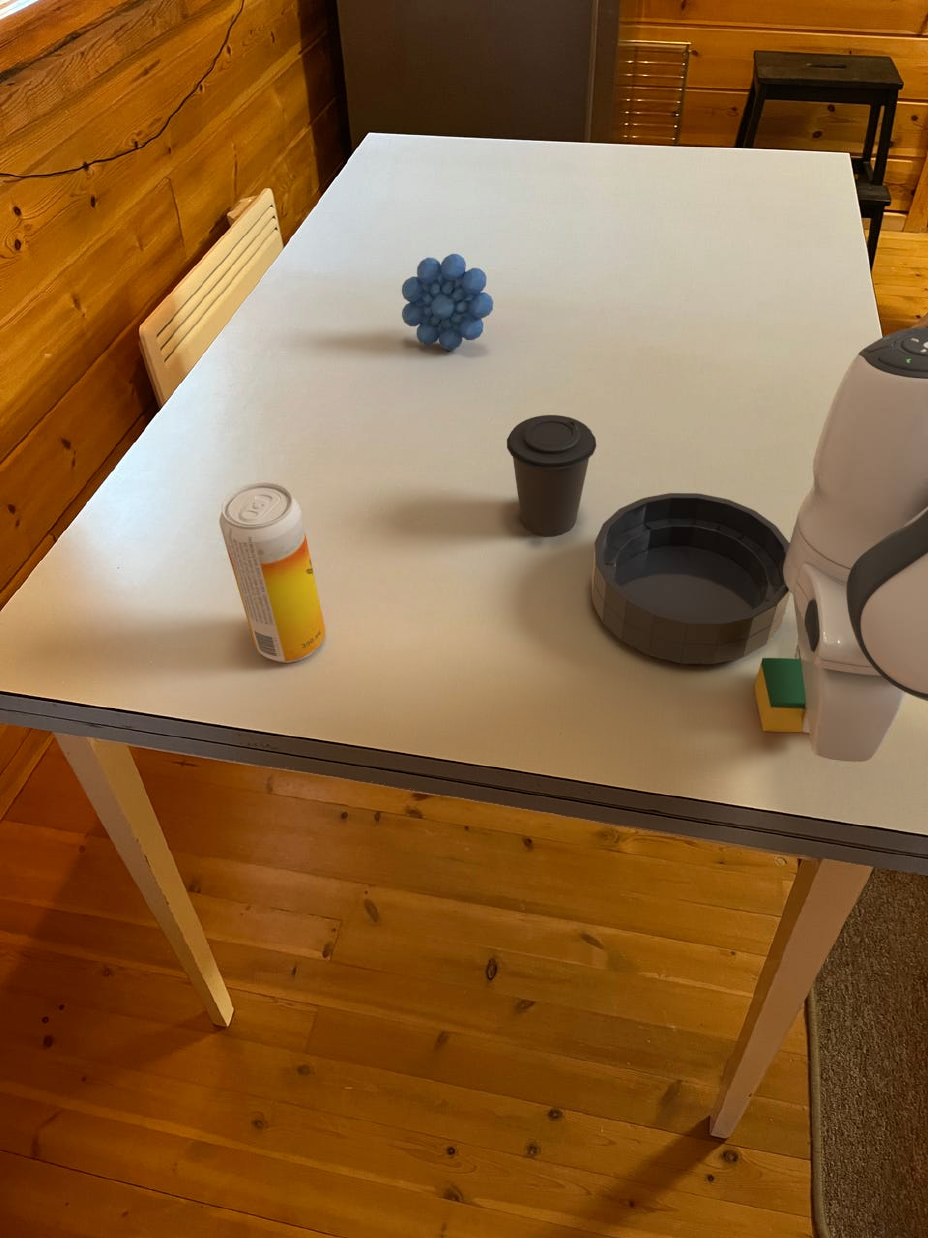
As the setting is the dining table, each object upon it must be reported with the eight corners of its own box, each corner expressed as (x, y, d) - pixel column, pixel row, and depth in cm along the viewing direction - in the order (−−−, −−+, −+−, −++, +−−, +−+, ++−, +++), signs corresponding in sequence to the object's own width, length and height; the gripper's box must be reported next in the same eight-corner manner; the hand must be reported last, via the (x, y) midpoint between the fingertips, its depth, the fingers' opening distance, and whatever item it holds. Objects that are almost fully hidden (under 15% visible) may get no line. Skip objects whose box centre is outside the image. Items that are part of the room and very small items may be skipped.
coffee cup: (603, 506, 91) (611, 419, 84) (570, 555, 86) (575, 467, 79) (528, 484, 94) (530, 398, 87) (492, 531, 89) (490, 444, 82)
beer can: (338, 624, 81) (311, 486, 70) (307, 674, 77) (274, 536, 66) (275, 610, 82) (240, 473, 72) (243, 658, 78) (200, 521, 68)
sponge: (843, 688, 74) (855, 659, 71) (856, 734, 71) (869, 705, 68) (753, 686, 74) (762, 657, 72) (762, 731, 71) (772, 702, 69)
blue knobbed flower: (505, 339, 114) (504, 242, 106) (487, 366, 110) (485, 268, 101) (418, 325, 118) (410, 231, 109) (397, 352, 113) (387, 255, 105)
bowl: (765, 540, 86) (777, 493, 83) (797, 673, 75) (813, 626, 71) (588, 537, 88) (592, 491, 84) (594, 668, 76) (598, 621, 72)
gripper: (793, 465, 69) (758, 598, 79) (823, 671, 55) (776, 802, 65) (882, 471, 68) (836, 605, 78) (935, 681, 54) (870, 812, 64)
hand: (809, 696), depth 71 cm, fingers closed on sponge, 4 cm apart
